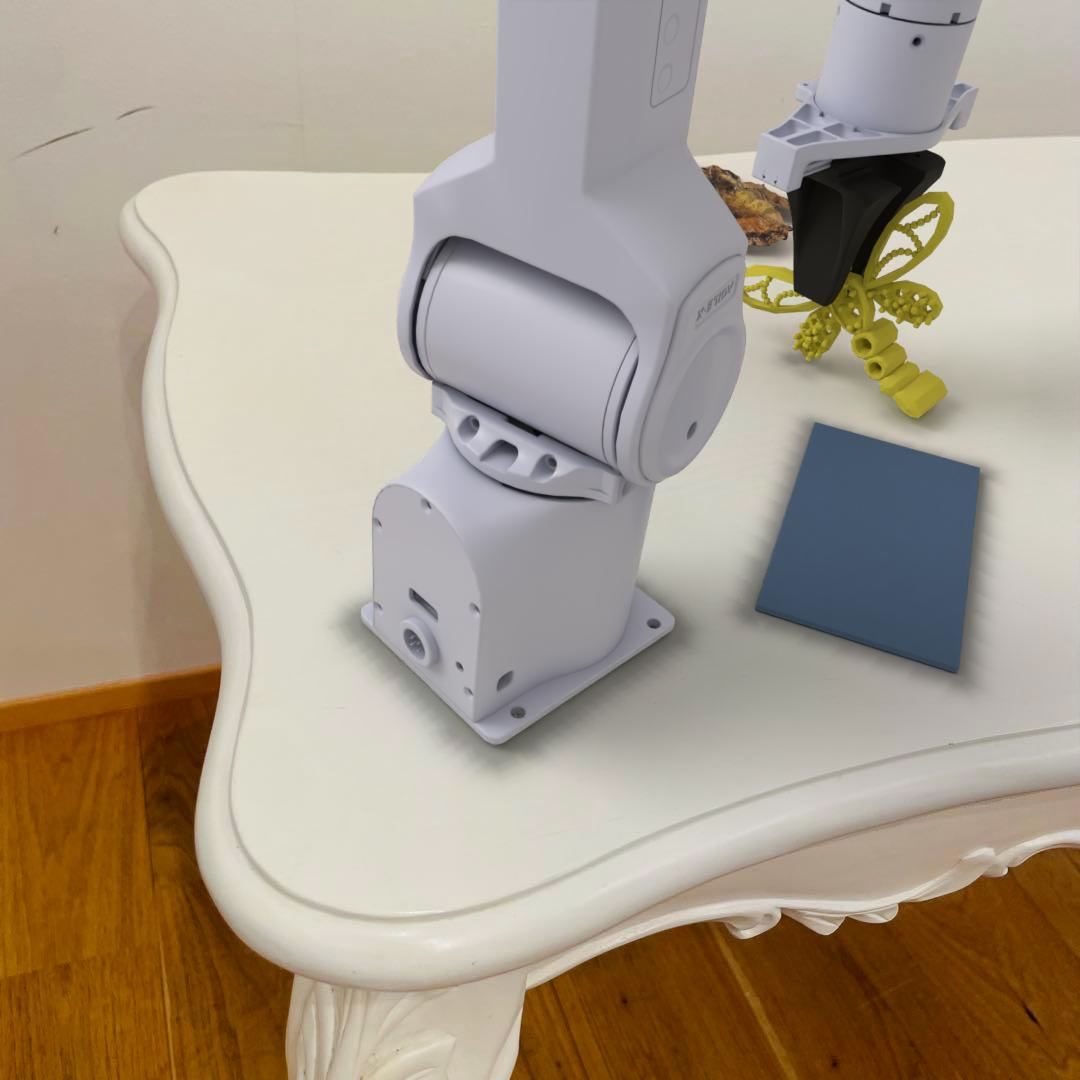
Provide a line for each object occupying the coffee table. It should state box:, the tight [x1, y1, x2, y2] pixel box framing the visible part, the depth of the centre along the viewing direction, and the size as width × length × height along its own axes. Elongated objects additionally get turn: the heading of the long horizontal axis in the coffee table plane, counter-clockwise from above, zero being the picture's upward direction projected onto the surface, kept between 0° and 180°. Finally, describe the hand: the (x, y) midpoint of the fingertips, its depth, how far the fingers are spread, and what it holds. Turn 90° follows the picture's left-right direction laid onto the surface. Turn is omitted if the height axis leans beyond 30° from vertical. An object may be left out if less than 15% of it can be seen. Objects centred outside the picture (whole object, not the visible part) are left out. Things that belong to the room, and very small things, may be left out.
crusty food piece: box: [700, 164, 793, 247], centre depth 70 cm, size 9×12×3 cm
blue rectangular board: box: [754, 421, 981, 674], centre depth 48 cm, size 14×8×1 cm, turn 160°
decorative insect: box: [743, 191, 955, 419], centre depth 56 cm, size 13×3×10 cm
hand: (824, 291), depth 56 cm, fingers closed on decorative insect
